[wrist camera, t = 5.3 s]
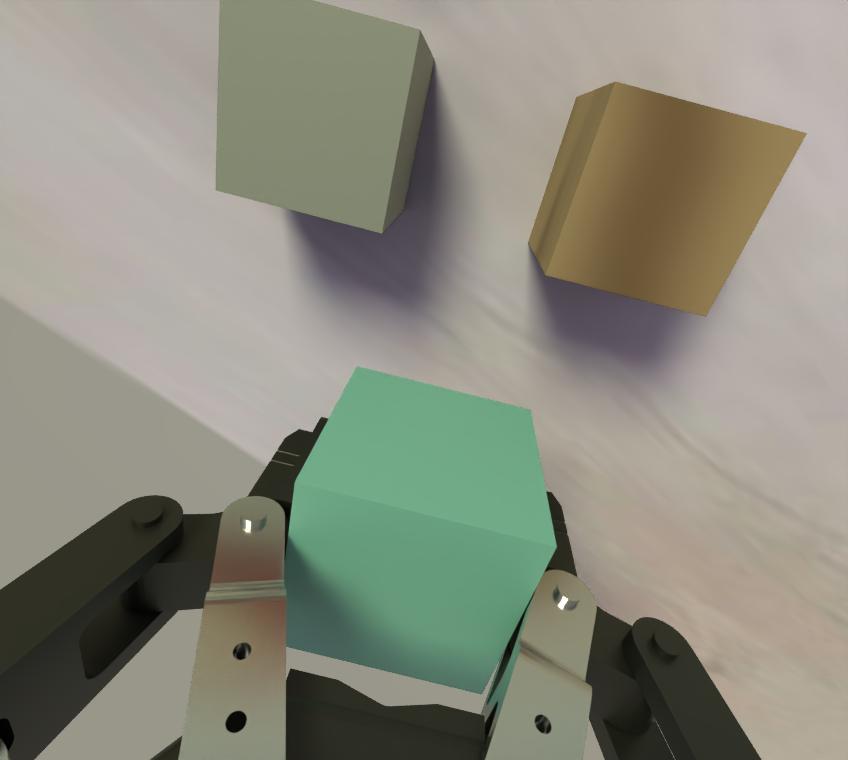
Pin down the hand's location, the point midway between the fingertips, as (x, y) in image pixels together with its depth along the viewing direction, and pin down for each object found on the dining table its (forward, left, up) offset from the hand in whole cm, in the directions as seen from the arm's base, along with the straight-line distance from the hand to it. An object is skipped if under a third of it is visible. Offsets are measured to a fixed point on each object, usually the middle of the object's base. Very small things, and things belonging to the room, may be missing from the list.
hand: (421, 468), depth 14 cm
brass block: (-5, -8, -8) cm, 12 cm away
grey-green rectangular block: (+5, -8, -8) cm, 13 cm away
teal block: (0, 0, -1) cm, 1 cm away
